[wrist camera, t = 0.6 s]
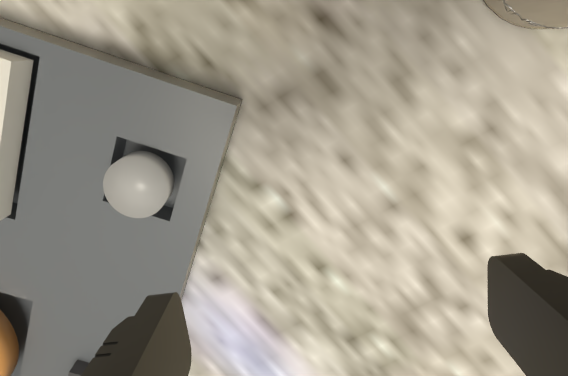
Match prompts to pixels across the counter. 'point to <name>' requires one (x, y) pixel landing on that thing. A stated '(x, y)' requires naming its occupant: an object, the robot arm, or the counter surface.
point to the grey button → (138, 184)
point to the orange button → (7, 347)
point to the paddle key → (11, 121)
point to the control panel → (99, 196)
